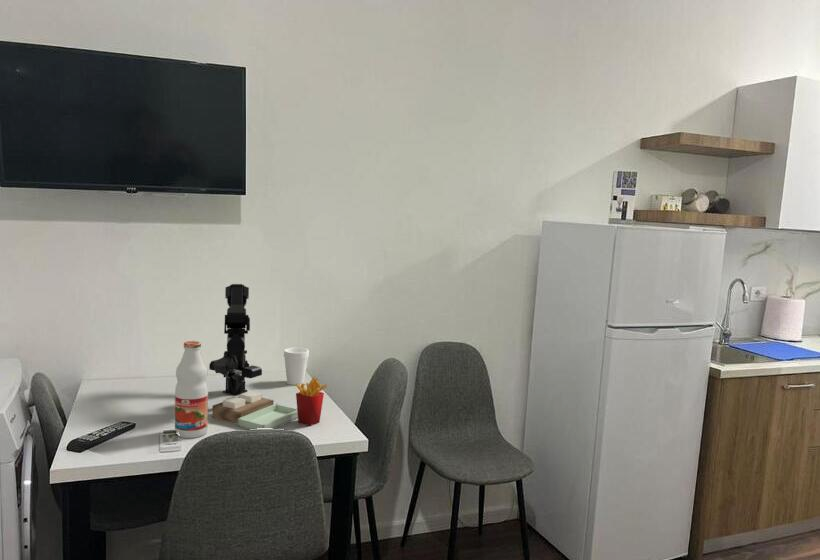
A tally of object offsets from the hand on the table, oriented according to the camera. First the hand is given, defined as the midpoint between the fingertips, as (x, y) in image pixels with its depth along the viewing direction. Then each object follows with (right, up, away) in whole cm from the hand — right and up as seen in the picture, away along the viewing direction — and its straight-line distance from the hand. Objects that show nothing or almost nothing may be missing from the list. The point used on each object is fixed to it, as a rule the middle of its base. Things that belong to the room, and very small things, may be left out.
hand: (234, 392), depth 225 cm
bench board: (+5, -6, -6) cm, 10 cm away
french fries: (+28, -8, -10) cm, 31 cm away
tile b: (+2, -2, -10) cm, 11 cm away
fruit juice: (-6, -8, -25) cm, 27 cm away
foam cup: (+15, -2, +33) cm, 36 cm away
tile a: (+6, -2, -3) cm, 7 cm away
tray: (+15, -7, -11) cm, 20 cm away
